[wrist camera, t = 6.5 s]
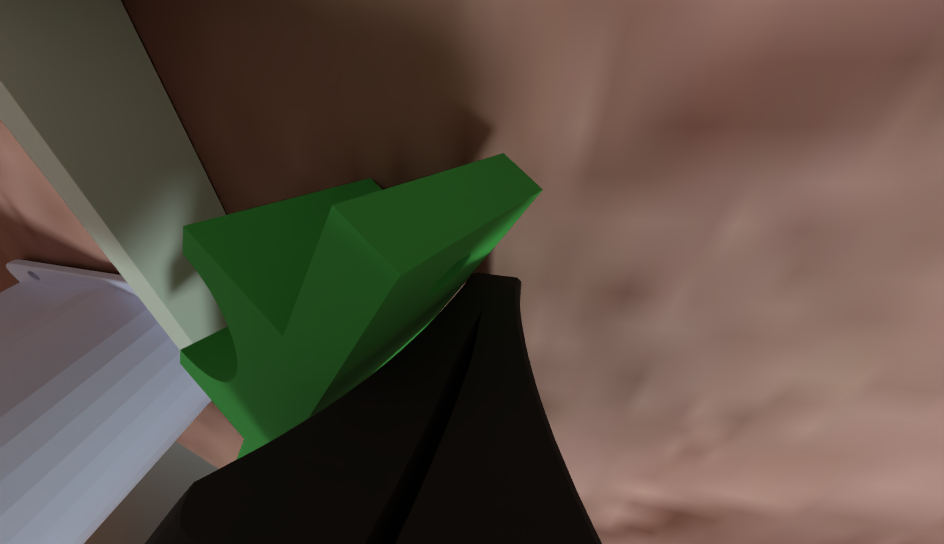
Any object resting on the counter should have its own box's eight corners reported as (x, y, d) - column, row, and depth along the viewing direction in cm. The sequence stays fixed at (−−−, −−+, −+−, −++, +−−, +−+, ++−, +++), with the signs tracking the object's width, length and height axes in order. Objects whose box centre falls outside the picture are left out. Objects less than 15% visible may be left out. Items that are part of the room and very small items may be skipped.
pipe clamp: (419, 71, 8) (185, 50, 4) (545, 188, 8) (403, 273, 4) (302, 332, 15) (173, 409, 11) (365, 401, 14) (252, 503, 11)
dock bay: (296, 384, 18) (253, 445, 15) (56, -70, 8) (-165, -93, 5) (541, 435, 15) (534, 515, 13) (636, -121, 5) (675, -198, 3)
